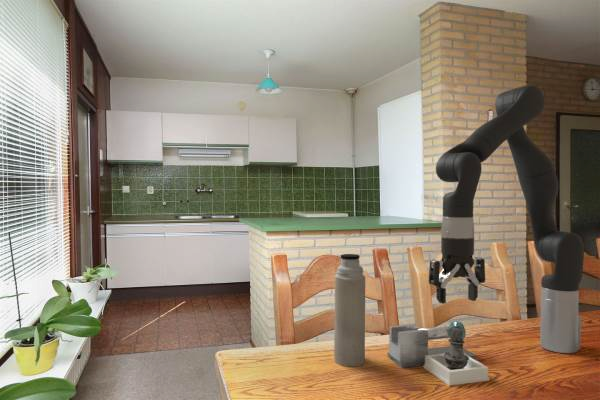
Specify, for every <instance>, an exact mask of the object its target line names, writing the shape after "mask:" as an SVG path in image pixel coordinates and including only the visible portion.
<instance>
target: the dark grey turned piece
mask: <svg viewBox="0 0 600 400" xmlns="http://www.w3.org/2000/svg"><path fill="white" fill-rule="evenodd" d="M448 341H449V346H450V351H449V352H448V353H445V354H444V357H445V361H446V363H447V364H448V365H449V366H448V367H447V368H448V369H450V370H456V369H464V367H465V366H466V365H467V363H468V360H469V357H468V356H467V355H465V354H464V352H463V348H464V344H465V340H463V329H462V328H461V327H459V326H458V323H456V325H455V326H453V327H452V328H451V338H448Z"/></svg>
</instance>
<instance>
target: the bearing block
mask: <svg viewBox="0 0 600 400" xmlns="http://www.w3.org/2000/svg"><path fill="white" fill-rule="evenodd" d="M388 328H389V334H388V335H389V341H388V343H389V344H388V345H389V346H388V347H389V348H388V349H389V351H388V352H387V358H389V359H390V360H392V362H394V363H395V364H396V365H398V366H399V367H400V368H402V369H405V368H413V367H421V366H423V365H425V356H427V355H436V354H445V353H448V352H449V351H450V345H449V346H448V345H447V346H438V347H430V348H429V340H428V330H426V329H424V328H422V329H423V330H417V329H420V328H419V324H417V323H411V324H400V325H390V326H389V327H388ZM463 352H464V354H466V355H467V356H469V357H471V358H473V359H474V360H477V359H478V358H477V354H475V353H473V352H472V351H469V350H468V349H466V348H465V347H463Z"/></svg>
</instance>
